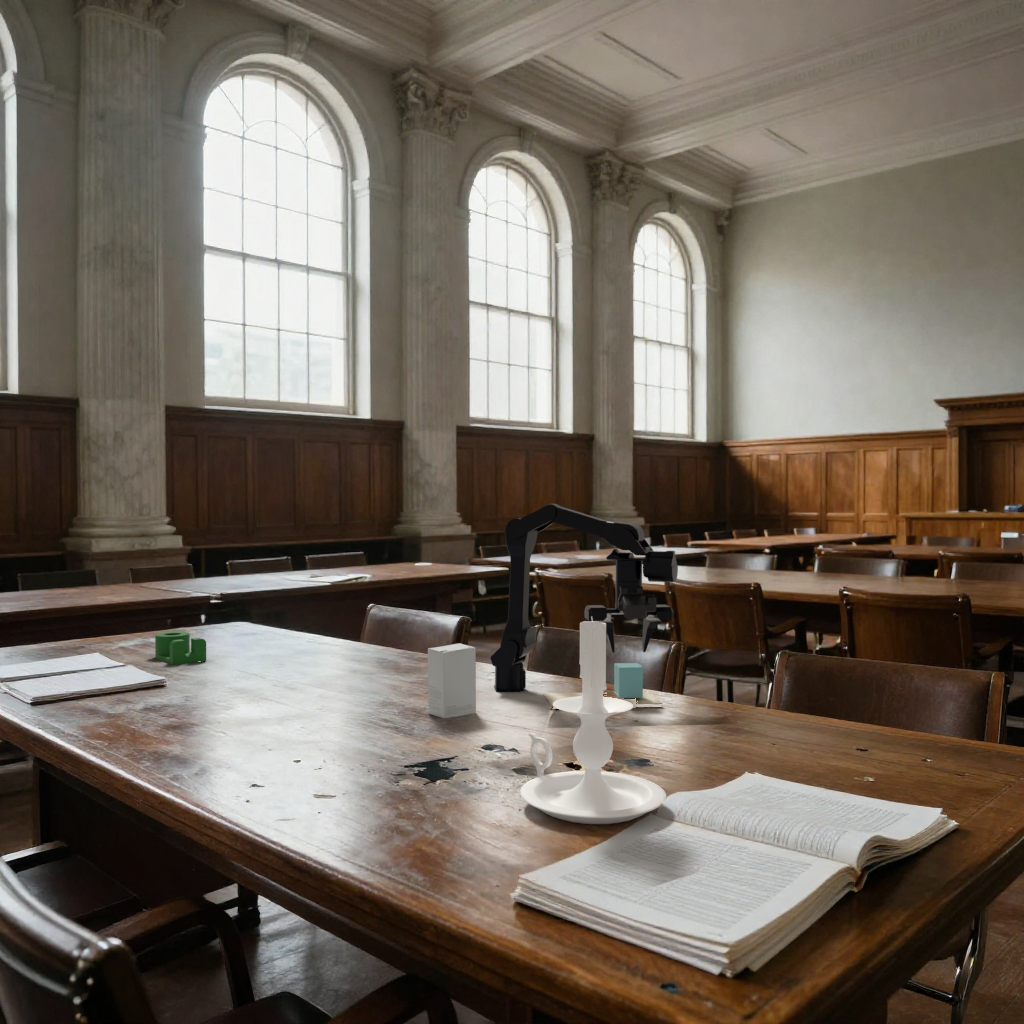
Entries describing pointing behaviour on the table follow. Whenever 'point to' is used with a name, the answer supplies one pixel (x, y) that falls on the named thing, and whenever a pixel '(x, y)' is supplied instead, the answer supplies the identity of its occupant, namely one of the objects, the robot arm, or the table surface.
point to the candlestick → (590, 753)
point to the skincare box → (452, 680)
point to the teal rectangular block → (628, 680)
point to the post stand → (645, 700)
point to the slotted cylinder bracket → (179, 648)
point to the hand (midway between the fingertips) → (628, 652)
